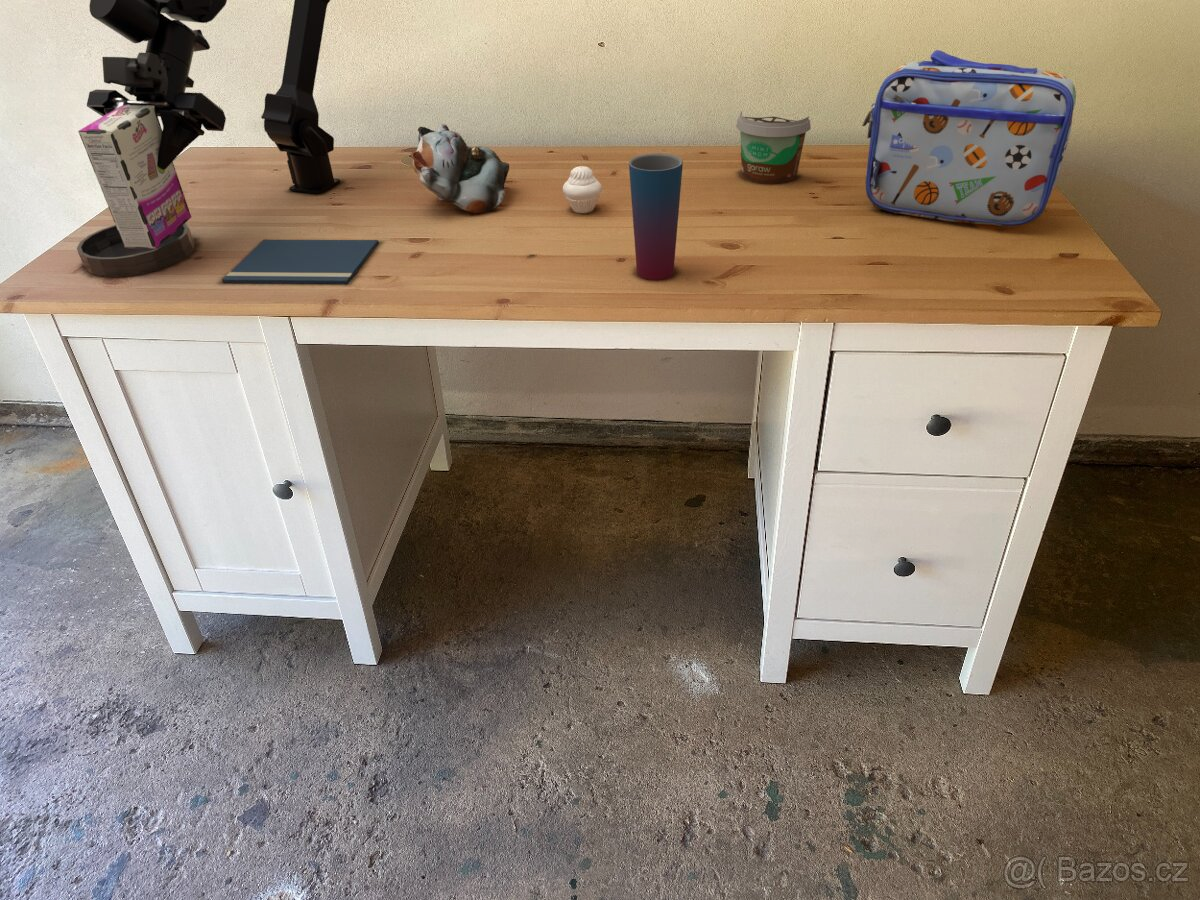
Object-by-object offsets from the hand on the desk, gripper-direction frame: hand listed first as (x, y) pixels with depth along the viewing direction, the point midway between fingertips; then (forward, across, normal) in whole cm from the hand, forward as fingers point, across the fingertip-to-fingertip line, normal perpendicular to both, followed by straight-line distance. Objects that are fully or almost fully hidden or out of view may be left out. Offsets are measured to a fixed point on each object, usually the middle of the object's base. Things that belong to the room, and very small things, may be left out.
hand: (144, 167), depth 116 cm
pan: (+10, -6, +8) cm, 14 cm away
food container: (-23, +82, +43) cm, 95 cm away
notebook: (+8, +21, +10) cm, 25 cm away
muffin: (-10, +55, +30) cm, 64 cm away
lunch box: (-16, +110, +36) cm, 117 cm away
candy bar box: (+8, 0, +5) cm, 9 cm away
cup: (+4, +72, +15) cm, 73 cm away
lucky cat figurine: (-10, +35, +30) cm, 47 cm away
